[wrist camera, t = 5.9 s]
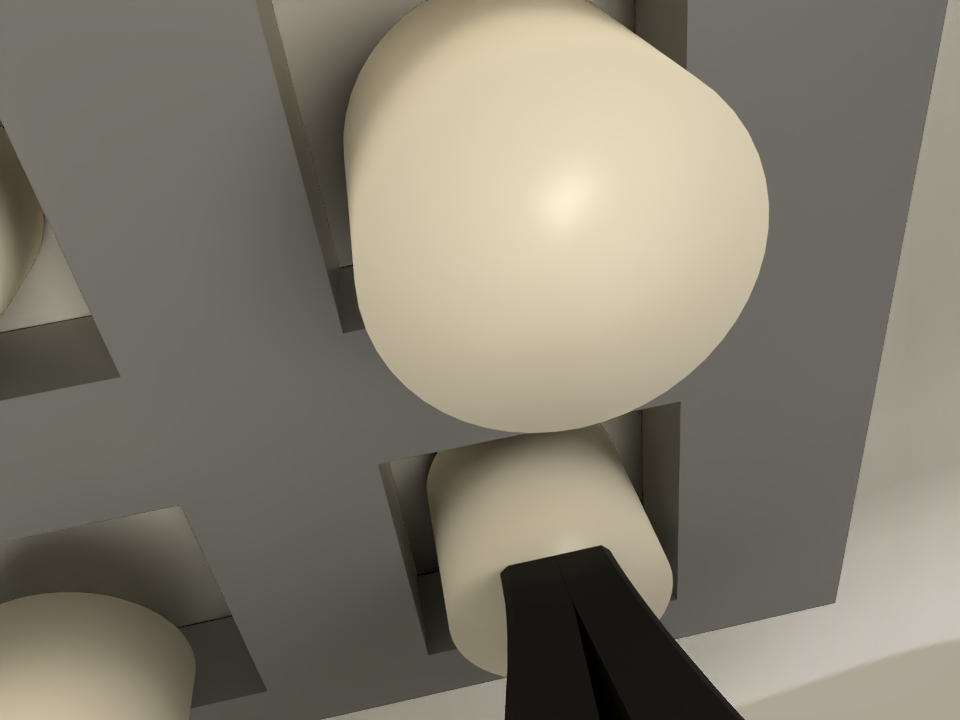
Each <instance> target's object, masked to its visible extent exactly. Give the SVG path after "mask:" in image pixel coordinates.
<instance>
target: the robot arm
mask: <svg viewBox="0 0 960 720" xmlns="http://www.w3.org/2000/svg"><path fill="white" fill-rule="evenodd" d="M500 577H501V583H502V589H503V595H504V600H505V608H506V620H507V685H506V705H505V720H745V719H744V718H743V717H742V716H740V714H739V713H738V712H737V711H736V710H735V709H734V708H733V706H732V705H731V704H730V703H729V702H728V701H727V700H726V699H725V698H724V697H723V695H722V694H721V693H720V692H719V691H718V690H717V689H716V688H715V686H714V685H713V684H712V683H711V682H710V681H709V679H708V678H707V677H706V676H705V675H704V674H703V672H702V671H701V670H700V669H699V668H698V667H697V665H696V664H695V663H694V662H693V661H692V660H691V658H690V657H689V656H688V655H687V654H686V653H685V651H684V650H683V649H682V648H681V647H680V645H679V644H678V643H677V642H676V640H675V639H674V638H673V637H672V636H671V634H670V633H669V632H668V631H667V629H666V628H665V627H664V625H663V624H662V623H661V622H660V620H659V619H658V618H657V616H656V615H655V614H654V613H653V611H652V610H651V609H650V607H649V606H648V605H647V603H646V602H645V601H644V599H643V598H642V597H641V595H640V594H639V593H638V591H637V590H636V588H635V587H634V586H633V584H632V583H631V581H630V580H629V579H628V577H627V576H626V574H625V573H624V571H623V570H622V568H621V567H620V565H619V564H618V562H617V561H616V559H615V557H614V556H613V554H612V553H611V551H610V550H609V549H607V548H606V547H604V546H602V545H599V546H595V547H590V548H586V549H581V550H577V551H573V552H568V553H564V554H559V555H555V556H550V557H545V558H541V559H536V560H531V561H527V562H522V563H518V564H513V565H508V566H507V567H506V568H505V569H504V570H503V571H502V572H501V573H500Z"/></svg>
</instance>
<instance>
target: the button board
mask: <svg viewBox="0 0 960 720" xmlns="http://www.w3.org/2000/svg"><path fill="white" fill-rule="evenodd" d="M947 3H948V0H635V17H636V35H637V36H639V37H640V38H642V39H643V40H644V41H646V42H647V43H649V44H650V45H651V46H653V47H654V48H656V49H657V50H658V51H660V52H661V53H663V54H664V55H665V56H667V57H668V58H670V59H671V60H673V61H674V62H675V63H677V64H678V65H680V66H681V67H682V68H684V69H685V70H687V71H688V72H689V73H691V74H692V75H694V76H695V77H696V78H698V79H699V80H700V81H702V82H703V83H704V84H706V85H707V86H708V87H710V88H711V89H712V90H714V91H715V92H716V93H717V94H718V95H719V96H720V97H721V98H722V99H723V100H724V101H725V102H726V103H727V104H728V105H729V107H730V108H731V109H732V110H733V111H734V112H735V113H736V115H737V116H738V118H739V119H740V121H741V122H742V124H743V125H744V127H745V128H746V130H747V131H748V133H749V135H750V137H751V139H752V141H753V143H754V146H755V148H756V150H757V152H758V154H759V157H760V160H761V164H762V167H763V171H764V174H765V178H766V184H767V192H768V200H769V229H768V235H767V242H766V249H765V254H764V257H763V261H762V264H761V268H760V271H759V275H758V278H757V280H756V282H755V285H754V287H753V290H752V292H751V294H750V297H749V299H748V301H747V303H746V304H745V306H744V308H743V310H742V311H741V313H740V315H739V317H738V319H737V320H736V322H735V323H734V324H733V326H732V327H731V329H730V330H729V331H728V333H727V334H726V336H725V337H724V338H723V340H722V341H721V342H720V343H719V344H718V346H717V347H716V348H715V349H714V350H713V351H712V352H711V353H710V355H709V356H708V357H707V358H706V359H705V360H704V361H703V362H702V363H701V364H700V365H699V366H697V367H696V368H695V369H694V370H693V371H692V372H691V373H690V374H689V375H688V376H686V377H685V378H684V379H682V380H681V381H680V382H678V383H677V384H676V385H674V386H673V387H672V388H670V389H669V390H668V391H666V392H664V393H663V394H661V395H660V396H658V397H656V398H655V399H653V400H651V401H650V402H648V403H646V404H644V405H642V406H640V407H638V408H636V409H634V410H632V411H636V410H641V409H642V437H643V498H644V511H645V513H646V515H647V517H648V519H649V521H650V523H651V525H652V528H653V530H654V532H655V534H656V536H657V538H658V540H659V542H660V545H661V547H662V549H663V551H664V553H665V555H666V557H667V560H668V562H669V564H670V567H671V571H672V577H673V587H672V594H671V597H670V601H669V603H668V606H667V608H666V610H665V612H664V614H663V615H662V617H661V618H660V622H661V623H662V624H663V625H664V627H665V628H666V629H667V631H668V632H669V633H670V634H671V636H672V637H673V638H674V639H678V638H683V637H687V636H692V635H696V634H700V633H705V632H709V631H714V630H718V629H722V628H727V627H731V626H736V625H740V624H744V623H749V622H753V621H758V620H762V619H766V618H771V617H775V616H780V615H784V614H789V613H793V612H797V611H802V610H806V609H811V608H815V607H819V606H824V605H828V604H833V603H835V601H836V595H837V590H838V585H839V579H840V574H841V569H842V563H843V558H844V553H845V547H846V542H847V537H848V531H849V526H850V521H851V515H852V510H853V505H854V499H855V494H856V489H857V483H858V478H859V473H860V467H861V462H862V457H863V451H864V446H865V441H866V435H867V430H868V425H869V419H870V414H871V409H872V403H873V398H874V393H875V387H876V382H877V377H878V371H879V366H880V361H881V355H882V350H883V345H884V339H885V334H886V329H887V323H888V318H889V313H890V307H891V302H892V297H893V291H894V286H895V281H896V275H897V270H898V265H899V259H900V254H901V249H902V243H903V238H904V233H905V227H906V222H907V216H908V211H909V206H910V200H911V195H912V190H913V184H914V179H915V174H916V168H917V163H918V158H919V152H920V147H921V142H922V136H923V131H924V126H925V120H926V115H927V110H928V104H929V99H930V94H931V88H932V83H933V78H934V72H935V67H936V62H937V56H938V51H939V46H940V40H941V35H942V30H943V24H944V19H945V14H946V8H947ZM0 120H1V122H2V124H3V126H4V128H5V130H6V132H7V135H8V137H9V139H10V141H11V143H12V145H13V147H14V149H15V152H16V154H17V156H18V158H19V160H20V162H21V164H22V167H23V169H24V171H25V173H26V175H27V177H28V179H29V182H30V184H31V186H32V188H33V190H34V192H35V194H36V197H37V199H38V201H39V203H40V205H41V207H42V209H43V212H44V214H45V216H46V218H47V220H48V222H49V224H50V227H51V229H52V231H53V233H54V235H55V237H56V239H57V242H58V244H59V246H60V248H61V250H62V252H63V254H64V257H65V259H66V261H67V263H68V265H69V267H70V269H71V272H72V274H73V276H74V278H75V280H76V282H77V284H78V287H79V289H80V291H81V293H82V295H83V297H84V299H85V302H86V304H87V306H88V308H89V310H90V312H91V314H92V316H89V317H84V318H78V319H73V320H68V321H63V322H58V323H52V324H47V325H42V326H37V327H31V328H26V329H21V330H16V331H10V332H5V333H0V542H5V541H10V540H14V539H19V538H24V537H29V536H34V535H39V534H43V533H48V532H53V531H58V530H63V529H67V528H72V527H77V526H82V525H87V524H92V523H96V522H101V521H106V520H111V519H116V518H121V517H125V516H130V515H135V514H140V513H145V512H149V511H154V510H159V509H164V508H169V507H174V506H178V505H181V507H182V509H183V511H184V514H185V516H186V518H187V520H188V522H189V524H190V526H191V529H192V531H193V533H194V535H195V537H196V539H197V541H198V544H199V546H200V548H201V550H202V552H203V554H204V556H205V559H206V561H207V563H208V565H209V567H210V569H211V571H212V574H213V576H214V578H215V580H216V582H217V584H218V586H219V589H220V591H221V593H222V595H223V597H224V599H225V601H226V604H227V606H228V608H229V610H230V612H231V614H232V616H233V617H228V618H223V619H219V620H214V621H210V622H205V623H200V624H196V625H191V626H187V627H182V628H178V630H179V631H180V632H181V633H182V634H183V635H184V636H185V638H186V639H187V641H188V642H189V644H190V646H191V648H192V650H193V653H194V657H195V662H196V672H195V680H194V687H193V694H192V702H191V709H190V716H189V720H321V719H326V718H330V717H335V716H339V715H343V714H348V713H352V712H357V711H361V710H365V709H370V708H374V707H379V706H383V705H387V704H392V703H396V702H401V701H405V700H409V699H414V698H418V697H423V696H427V695H432V694H436V693H440V692H445V691H449V690H454V689H458V688H462V687H467V686H471V685H476V684H480V683H484V682H489V681H493V680H498V679H502V678H506V677H504V676H500V675H497V674H493V673H490V672H488V671H486V670H483V669H481V668H479V667H478V666H476V665H474V664H473V663H471V662H470V661H469V660H468V659H466V658H465V657H464V656H463V655H462V654H461V653H460V651H459V650H458V649H457V647H456V646H455V644H454V642H453V640H452V637H451V634H450V630H449V624H448V618H447V612H446V606H445V600H444V594H443V588H442V582H441V576H440V572H435V573H431V574H426V575H421V576H417V572H416V568H415V564H414V560H413V556H412V552H411V548H410V544H409V540H408V536H407V532H406V528H405V525H404V521H403V517H402V513H401V509H400V505H399V501H398V497H397V493H396V489H395V485H394V481H393V477H392V473H391V469H390V465H389V462H390V461H395V460H400V459H405V458H410V457H415V456H419V455H424V454H429V453H434V452H439V451H443V450H448V449H453V448H458V447H463V446H468V445H472V444H477V443H482V442H487V441H492V440H496V439H501V438H506V437H511V436H516V435H521V434H525V433H521V432H507V431H501V430H495V429H489V428H485V427H481V426H478V425H474V424H471V423H467V422H464V421H462V420H459V419H457V418H455V417H452V416H450V415H448V414H445V413H443V412H442V411H440V410H438V409H436V408H435V407H433V406H431V405H430V404H428V403H426V402H425V401H423V400H422V399H421V398H419V397H418V396H417V395H416V394H414V393H413V392H412V391H411V390H409V389H408V388H407V387H406V386H405V385H404V384H403V383H402V382H401V381H400V380H399V379H398V378H397V377H396V376H395V375H394V374H393V373H392V372H391V371H390V369H389V368H388V366H387V365H386V364H385V362H384V361H383V359H382V358H381V357H380V355H379V354H378V352H377V351H376V349H375V347H374V345H373V343H372V341H371V339H370V337H369V335H368V333H367V331H366V328H365V325H364V322H363V319H362V316H361V313H360V310H359V306H358V300H357V294H356V288H355V280H354V269H353V266H350V267H345V268H340V269H339V265H338V261H337V257H336V253H335V249H334V245H333V241H332V237H331V233H330V229H329V225H328V221H327V217H326V213H325V209H324V206H323V202H322V198H321V194H320V190H319V186H318V182H317V178H316V174H315V170H314V166H313V162H312V158H311V154H310V150H309V146H308V143H307V139H306V135H305V131H304V127H303V123H302V119H301V115H300V111H299V107H298V103H297V99H296V95H295V91H294V87H293V83H292V80H291V76H290V72H289V68H288V64H287V60H286V56H285V52H284V48H283V44H282V40H281V36H280V32H279V28H278V24H277V20H276V17H275V13H274V9H273V5H272V1H271V0H0ZM630 412H631V411H630Z"/></svg>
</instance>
